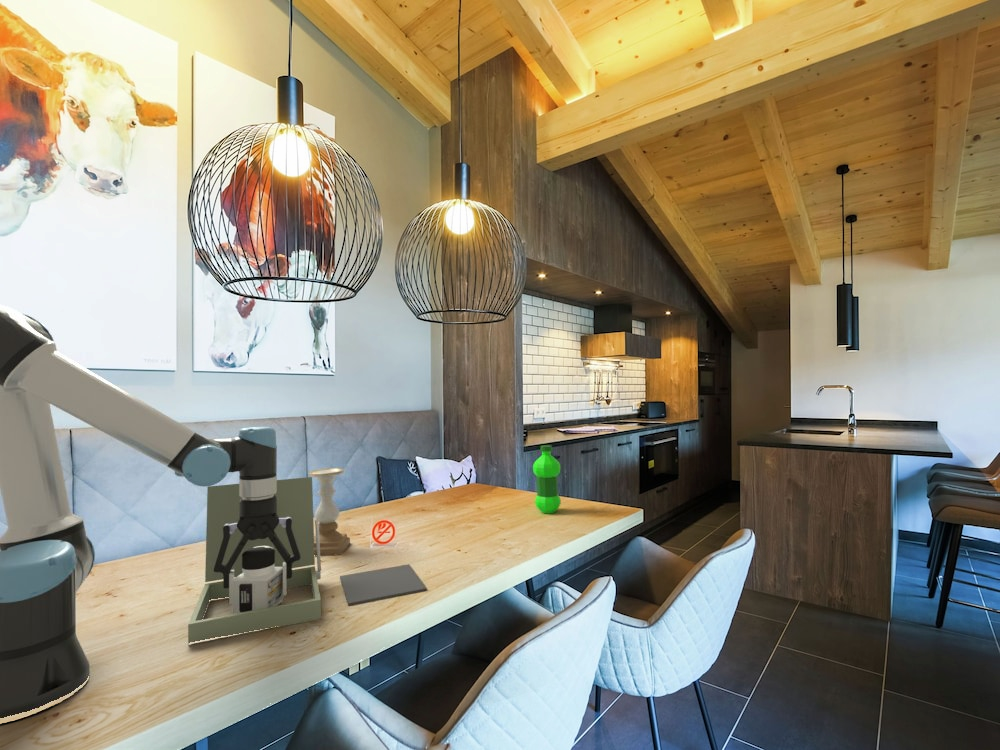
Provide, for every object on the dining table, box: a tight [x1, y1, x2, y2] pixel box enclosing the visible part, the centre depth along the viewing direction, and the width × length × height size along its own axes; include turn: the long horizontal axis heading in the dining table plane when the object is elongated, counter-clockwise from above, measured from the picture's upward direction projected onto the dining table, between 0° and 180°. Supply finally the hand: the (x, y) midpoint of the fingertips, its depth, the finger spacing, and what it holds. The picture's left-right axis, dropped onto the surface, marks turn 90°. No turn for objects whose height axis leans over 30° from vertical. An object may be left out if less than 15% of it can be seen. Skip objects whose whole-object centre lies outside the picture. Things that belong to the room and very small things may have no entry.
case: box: [187, 519, 322, 644], centre depth 111 cm, size 25×25×15 cm
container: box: [232, 546, 284, 614], centre depth 109 cm, size 8×8×13 cm
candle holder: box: [308, 467, 351, 556], centre depth 150 cm, size 11×11×24 cm
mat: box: [339, 563, 428, 606], centre depth 122 cm, size 18×18×1 cm
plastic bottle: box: [532, 444, 562, 514], centre depth 188 cm, size 10×10×25 cm
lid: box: [204, 476, 316, 583], centre depth 123 cm, size 23×24×2 cm
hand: (258, 597), depth 109 cm, fingers closed on container, 10 cm apart
